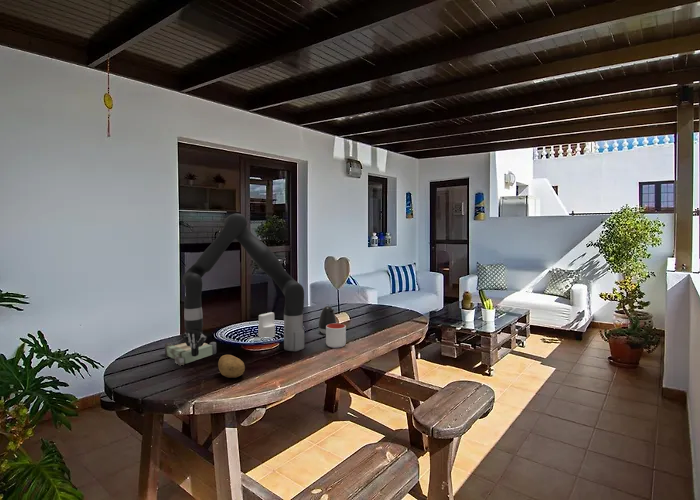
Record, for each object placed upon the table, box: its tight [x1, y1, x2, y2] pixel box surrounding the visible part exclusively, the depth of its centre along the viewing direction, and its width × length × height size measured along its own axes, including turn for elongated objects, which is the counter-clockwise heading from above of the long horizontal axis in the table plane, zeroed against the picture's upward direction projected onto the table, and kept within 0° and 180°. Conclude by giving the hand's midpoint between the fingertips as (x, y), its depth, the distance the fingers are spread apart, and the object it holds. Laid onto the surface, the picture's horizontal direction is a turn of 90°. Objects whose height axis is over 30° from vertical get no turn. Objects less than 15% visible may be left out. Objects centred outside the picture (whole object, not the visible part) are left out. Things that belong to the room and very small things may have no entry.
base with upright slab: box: [257, 311, 276, 338], centre depth 218 cm, size 9×9×12 cm
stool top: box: [164, 342, 208, 367], centre depth 186 cm, size 20×17×5 cm
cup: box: [325, 322, 347, 349], centre depth 203 cm, size 10×10×10 cm
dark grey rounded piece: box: [318, 305, 337, 335], centre depth 223 cm, size 10×10×15 cm
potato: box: [217, 354, 246, 379], centre depth 163 cm, size 10×14×8 cm
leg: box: [182, 341, 217, 365], centre depth 184 cm, size 17×3×5 cm, turn 146°
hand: (195, 355), depth 178 cm, fingers closed
